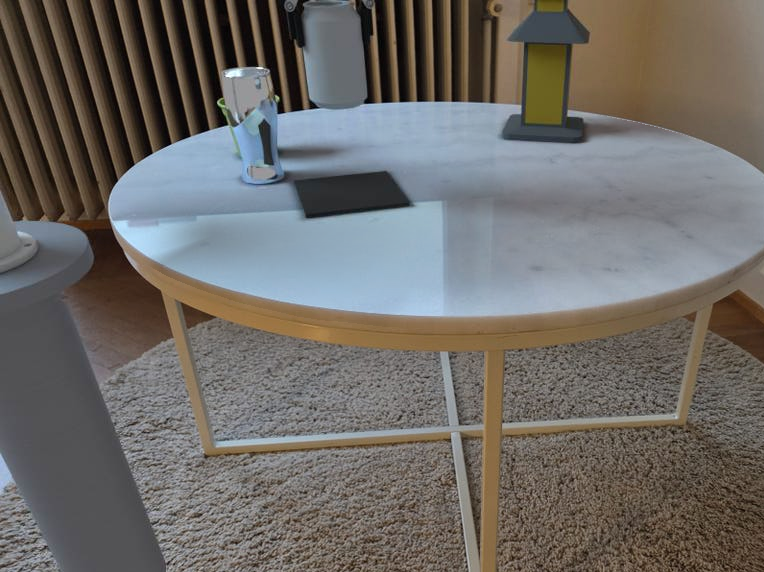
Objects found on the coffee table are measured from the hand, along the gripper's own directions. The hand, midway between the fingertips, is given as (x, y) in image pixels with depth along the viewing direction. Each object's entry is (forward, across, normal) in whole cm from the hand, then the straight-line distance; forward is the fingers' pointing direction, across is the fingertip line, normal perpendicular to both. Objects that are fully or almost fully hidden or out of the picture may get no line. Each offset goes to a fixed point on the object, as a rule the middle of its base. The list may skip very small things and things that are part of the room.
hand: (333, 43), depth 85 cm
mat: (+20, 0, +1) cm, 20 cm away
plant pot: (+20, -11, +24) cm, 33 cm away
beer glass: (+20, -11, +12) cm, 26 cm away
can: (+7, 0, 0) cm, 7 cm away
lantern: (+20, +40, +23) cm, 50 cm away
